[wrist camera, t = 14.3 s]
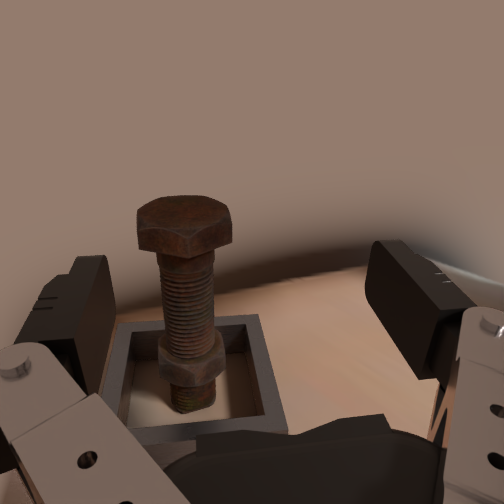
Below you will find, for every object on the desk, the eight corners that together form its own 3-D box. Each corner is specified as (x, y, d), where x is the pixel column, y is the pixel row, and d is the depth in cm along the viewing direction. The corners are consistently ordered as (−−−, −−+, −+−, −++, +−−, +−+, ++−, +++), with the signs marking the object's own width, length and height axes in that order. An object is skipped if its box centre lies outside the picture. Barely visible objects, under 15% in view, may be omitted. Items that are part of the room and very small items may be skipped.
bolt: (158, 376, 32) (138, 194, 25) (222, 367, 33) (220, 190, 26) (159, 440, 27) (134, 235, 20) (235, 427, 28) (237, 228, 21)
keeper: (256, 341, 35) (258, 314, 34) (285, 461, 26) (288, 429, 24) (122, 351, 34) (118, 323, 32) (97, 483, 24) (89, 451, 23)
